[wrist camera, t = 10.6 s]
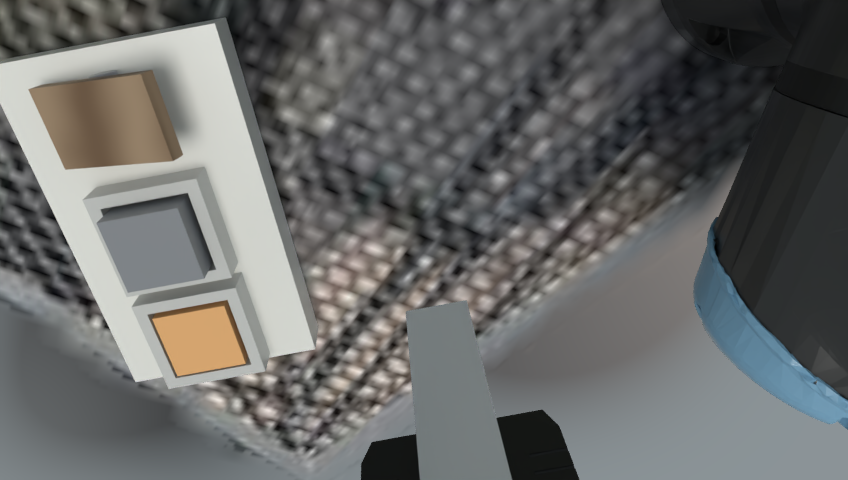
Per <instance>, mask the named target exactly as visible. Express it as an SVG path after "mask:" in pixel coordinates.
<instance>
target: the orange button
mask: <svg viewBox="0 0 848 480" xmlns="http://www.w3.org/2000/svg"><path fill="white" fill-rule="evenodd" d="M152 320H153V322H154V324H155V327H156V329H157V331H158V333H159V336H160V338H161V340H162V342H163V345H164V347H165V349H166V351H167V354H168V356H169V358H170V360H171V363H172V365H173V367H174V369H175V372H176V374H177V376H182V375H187V374H192V373H198V372H203V371H209V370H214V369H220V368H225V367H231V366H236V365H241V364H246V361H247V358H248V354H247V351H246V348H245V346H244V343H243V340H242V338H241V335H240V332H239V330H238V327H237V324H236V321H235V319H234V316H233V313H232V311H231V308H230V305H229V303H228V300H224V301H219V302H213V303H208V304H202V305H197V306H192V307H186V308H181V309H175V310H170V311H165V312H159V313H155V315H154V317H153V319H152Z"/></svg>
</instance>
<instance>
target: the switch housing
mask: <svg viewBox="0 0 848 480" xmlns="http://www.w3.org/2000/svg"><path fill="white" fill-rule="evenodd" d="M147 70H153V73H154V76H155V79H156V81H157V84H158V87H159V90H160V92H161V95H162V98H163V100H164V103H165V106H166V109H167V111H168V114H169V117H170V120H171V122H172V125H173V128H174V131H175V133H176V136H177V139H178V142H179V144H180V147H181V150H182V153H183V155H182V156H181V157H179V158H178V159H176V160H174V161H170V162H157V163H144V164H132V165H119V166H106V167H94V168H81V169H69V170H65V168H64V166H63V164H62V162H61V160H60V157H59V155H58V153H57V151H56V149H55V147H54V144H53V142H52V140H51V138H50V136H49V134H48V131H47V129H46V127H45V125H44V123H43V120H42V118H41V116H40V114H39V112H38V110H37V107H36V105H35V103H34V101H33V99H32V97H31V94H30V92H29V90H28V89H30V88H33V87H36V86H39V85H43V84H51V83H58V82H65V81H73V80H80V79H88V78H95V77H102V76H110V75H117V74H124V73H132V72H139V71H147ZM0 104H1V106H2V108H3V110H4V112H5V114H6V116H7V118H8V120H9V122H10V124H11V126H12V129H13V131H14V133H15V135H16V137H17V139H18V141H19V143H20V145H21V147H22V149H23V151H24V153H25V155H26V157H27V159H28V161H29V164H30V166H31V168H32V170H33V172H34V174H35V176H36V178H37V180H38V182H39V184H40V186H41V188H42V190H43V192H44V194H45V196H46V198H47V201H48V203H49V205H50V207H51V209H52V211H53V213H54V215H55V217H56V219H57V221H58V223H59V225H60V227H61V229H62V231H63V233H64V236H65V238H66V240H67V242H68V244H69V246H70V248H71V250H72V252H73V254H74V256H75V258H76V260H77V262H78V264H79V266H80V268H81V270H82V273H83V275H84V277H85V279H86V281H87V283H88V285H89V287H90V289H91V291H92V293H93V295H94V297H95V299H96V301H97V303H98V305H99V308H100V310H101V312H102V314H103V316H104V318H105V320H106V322H107V324H108V326H109V328H110V330H111V332H112V334H113V336H114V338H115V340H116V342H117V345H118V347H119V349H120V351H121V353H122V355H123V357H124V359H125V361H126V363H127V365H128V367H129V369H130V371H131V373H132V375H133V377H134V380H135V382H139V381H144V380H150V379H155V378H160V377H164V380H165V382H166V384H167V386H168V388H169V389H171V388H177V387H182V386H188V385H193V384H198V383H204V382H209V381H215V380H220V379H226V378H231V377H237V376H242V375H248V374H253V373H258V372H264V371H266V367H267V363H268V359H269V357H275V356H280V355H286V354H291V353H297V352H302V351H308V350H313V349H315V347H316V340H317V333H318V324H317V320H316V317H315V314H314V310H313V307H312V304H311V300H310V297H309V294H308V290H307V287H306V284H305V280H304V277H303V274H302V270H301V267H300V264H299V260H298V257H297V254H296V250H295V247H294V244H293V240H292V237H291V234H290V230H289V227H288V223H287V220H286V217H285V213H284V210H283V207H282V203H281V200H280V197H279V193H278V190H277V187H276V183H275V180H274V177H273V173H272V170H271V167H270V163H269V160H268V157H267V153H266V150H265V147H264V143H263V140H262V137H261V133H260V130H259V127H258V123H257V120H256V117H255V113H254V110H253V107H252V103H251V100H250V96H249V93H248V90H247V86H246V83H245V80H244V76H243V73H242V70H241V66H240V63H239V60H238V56H237V53H236V50H235V46H234V43H233V40H232V36H231V33H230V30H229V26H228V23H227V20H226V17H224V18H219V19H214V20H208V21H203V22H198V23H193V24H187V25H182V26H177V27H172V28H166V29H161V30H156V31H150V32H145V33H140V34H135V35H129V36H124V37H119V38H113V39H108V40H103V41H98V42H92V43H87V44H82V45H76V46H71V47H66V48H61V49H55V50H50V51H45V52H39V53H34V54H29V55H24V56H18V57H13V58H9V59H6V60H3V61H0ZM187 193H188V195H189V198H190V200H191V203H192V206H193V208H194V211H195V214H196V216H197V219H198V222H199V224H200V227H201V230H202V233H203V235H204V238H205V241H206V243H207V246H208V249H209V251H210V254H211V257H212V259H213V262H212V265H211V267H210V269H209V271H208V273H207V275H206V277H205V279H200V280H195V281H189V282H184V283H178V284H173V285H168V286H162V287H157V288H151V289H146V290H141V291H135V292H130V293H128V292H127V290H126V287H125V285H124V283H123V281H122V279H121V276H120V274H119V272H118V270H117V268H116V265H115V263H114V261H113V259H112V257H111V254H110V252H109V250H108V248H107V246H106V243H105V241H104V239H103V237H102V235H101V232H100V230H99V228H98V226H97V224H96V223H97V222H98V221H99V220H100V219H101V218H102V217H103V216H104V215H105V214H106V213H107V212H108V211H109V210H110V209H111V208H112V207H117V206H123V205H128V204H134V203H139V202H144V201H150V200H155V199H160V198H166V197H171V196H176V195H182V194H187ZM224 300H228V303H229V305H230V308H231V311H232V313H233V316H234V319H235V321H236V324H237V327H238V330H239V332H240V335H241V338H242V340H243V343H244V346H245V348H246V351H247V354H248V358H247V361H246V364H241V365H236V366H231V367H225V368H220V369H214V370H209V371H203V372H198V373H192V374H187V375H182V376H177V374H176V372H175V369H174V367H173V365H172V363H171V360H170V358H169V356H168V354H167V351H166V349H165V347H164V345H163V342H162V340H161V338H160V336H159V333H158V331H157V329H156V327H155V324H154V322H153V320H152V319H153V317H154V315H155V313H159V312H165V311H170V310H175V309H181V308H186V307H192V306H197V305H202V304H208V303H213V302H219V301H224Z"/></svg>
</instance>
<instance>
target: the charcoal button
mask: <svg viewBox="0 0 848 480" xmlns="http://www.w3.org/2000/svg"><path fill="white" fill-rule="evenodd" d="M96 224H97V226H98V228H99V230H100V232H101V235H102V237H103V239H104V241H105V243H106V246H107V248H108V250H109V252H110V254H111V257H112V259H113V261H114V263H115V265H116V268H117V270H118V272H119V274H120V276H121V279H122V281H123V283H124V285H125V287H126V290H127V292H128V293H130V292H135V291H141V290H146V289H151V288H157V287H162V286H168V285H173V284H178V283H184V282H189V281H195V280H200V279H205V277H206V275H207V273H208V271H209V269H210V267H211V265H212V262H213V259H212V257H211V254H210V251H209V249H208V246H207V243H206V241H205V238H204V235H203V233H202V230H201V227H200V224H199V222H198V219H197V216H196V214H195V211H194V208H193V206H192V203H191V200H190V198H189V195H188V193H187V194H182V195H176V196H171V197H166V198H160V199H155V200H150V201H144V202H139V203H134V204H128V205H123V206H117V207H112V208H111V209H110V210H109V211H108V212H107V213H106V214H105V215H104V216H103V217H102V218H101V219H100V220H99V221H98V222H97V223H96Z"/></svg>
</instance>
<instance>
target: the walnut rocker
mask: <svg viewBox="0 0 848 480" xmlns="http://www.w3.org/2000/svg"><path fill="white" fill-rule="evenodd" d="M28 90H29V92H30V94H31V97H32V99H33V101H34V103H35V105H36V107H37V110H38V112H39V114H40V116H41V118H42V120H43V123H44V125H45V127H46V129H47V131H48V134H49V136H50V138H51V140H52V142H53V144H54V147H55V149H56V151H57V153H58V155H59V157H60V160H61V162H62V164H63V166H64V168H65V170H69V169H81V168H94V167H106V166H119V165H132V164H144V163H157V162H170V161H174V160H176V159H178V158H179V157H181V156H182V155H183V153H182V150H181V147H180V144H179V142H178V139H177V136H176V133H175V131H174V128H173V125H172V122H171V120H170V117H169V114H168V111H167V109H166V106H165V103H164V100H163V98H162V95H161V92H160V90H159V87H158V84H157V81H156V79H155V76H154V73H153V70H147V71H139V72H132V73H124V74H117V75H110V76H102V77H95V78H88V79H80V80H73V81H65V82H58V83H51V84H43V85H39V86H36V87H33V88H30V89H28Z"/></svg>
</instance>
